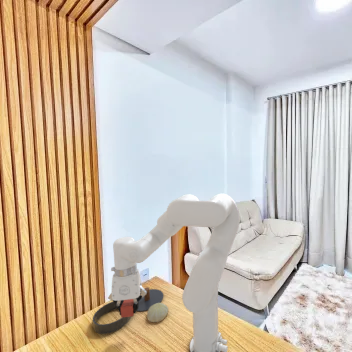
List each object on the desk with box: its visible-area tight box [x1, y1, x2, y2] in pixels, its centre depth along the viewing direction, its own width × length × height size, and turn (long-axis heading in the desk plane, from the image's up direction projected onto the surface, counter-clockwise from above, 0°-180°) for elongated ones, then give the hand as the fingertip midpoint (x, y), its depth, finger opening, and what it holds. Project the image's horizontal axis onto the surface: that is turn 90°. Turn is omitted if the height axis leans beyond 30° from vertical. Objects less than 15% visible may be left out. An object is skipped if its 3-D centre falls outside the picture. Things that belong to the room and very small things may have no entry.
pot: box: [92, 300, 132, 335], centre depth 92 cm, size 15×15×4 cm
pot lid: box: [136, 287, 164, 313], centre depth 104 cm, size 15×15×7 cm
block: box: [120, 299, 135, 318], centre depth 83 cm, size 4×4×4 cm
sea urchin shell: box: [146, 302, 169, 323], centre depth 94 cm, size 9×8×8 cm
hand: (129, 311), depth 83 cm, fingers closed on block, 4 cm apart
